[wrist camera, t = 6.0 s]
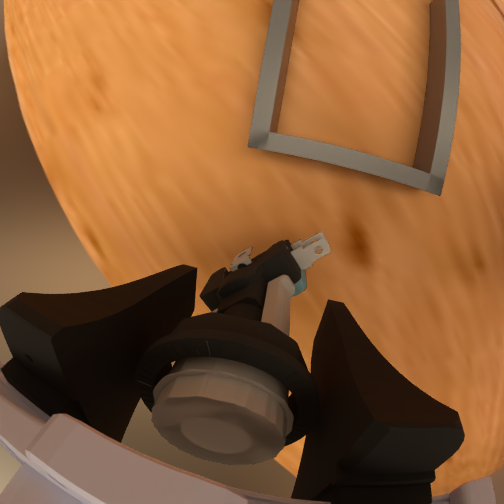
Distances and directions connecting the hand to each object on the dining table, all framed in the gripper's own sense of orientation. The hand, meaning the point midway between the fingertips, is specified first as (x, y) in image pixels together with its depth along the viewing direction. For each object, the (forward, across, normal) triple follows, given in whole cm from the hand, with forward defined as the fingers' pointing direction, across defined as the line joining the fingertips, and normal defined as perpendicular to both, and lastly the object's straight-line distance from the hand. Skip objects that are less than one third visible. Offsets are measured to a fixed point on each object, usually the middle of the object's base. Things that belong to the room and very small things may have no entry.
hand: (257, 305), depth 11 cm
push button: (+5, 0, 0) cm, 5 cm away
